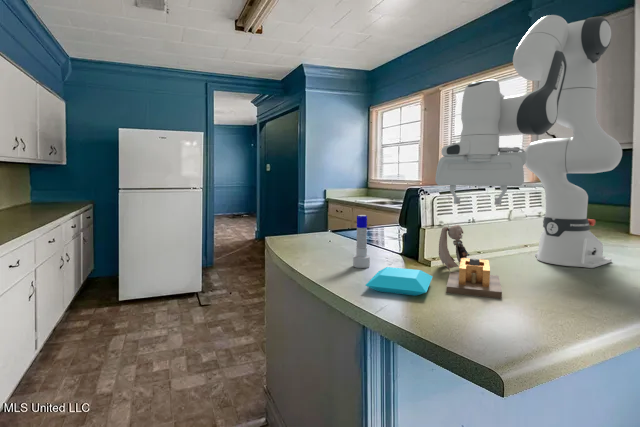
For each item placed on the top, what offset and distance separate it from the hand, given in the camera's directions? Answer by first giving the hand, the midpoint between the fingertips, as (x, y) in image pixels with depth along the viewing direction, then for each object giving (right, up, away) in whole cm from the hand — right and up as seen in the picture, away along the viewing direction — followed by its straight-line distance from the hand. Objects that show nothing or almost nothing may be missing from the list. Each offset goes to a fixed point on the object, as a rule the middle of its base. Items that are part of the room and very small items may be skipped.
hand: (477, 204), depth 97 cm
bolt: (-27, -19, +21) cm, 39 cm away
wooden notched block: (0, -19, +2) cm, 19 cm away
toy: (0, -19, +19) cm, 27 cm away
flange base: (-1, -21, 0) cm, 21 cm away
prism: (-19, -21, -1) cm, 29 cm away
